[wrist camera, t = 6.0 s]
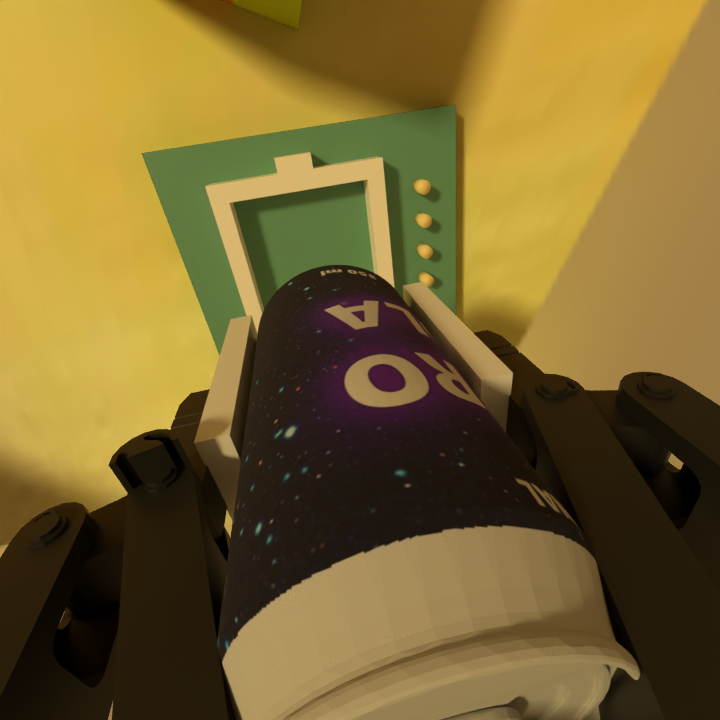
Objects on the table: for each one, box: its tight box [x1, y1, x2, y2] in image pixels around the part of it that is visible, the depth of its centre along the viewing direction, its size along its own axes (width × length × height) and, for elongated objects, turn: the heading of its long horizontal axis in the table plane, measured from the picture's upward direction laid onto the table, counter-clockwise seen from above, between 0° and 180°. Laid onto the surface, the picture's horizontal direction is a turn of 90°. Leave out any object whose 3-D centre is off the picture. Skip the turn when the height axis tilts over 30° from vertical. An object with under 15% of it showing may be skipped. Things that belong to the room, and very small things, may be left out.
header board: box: [142, 105, 456, 355], centre depth 25 cm, size 18×14×3 cm
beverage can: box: [217, 265, 640, 720], centre depth 10 cm, size 6×6×12 cm
